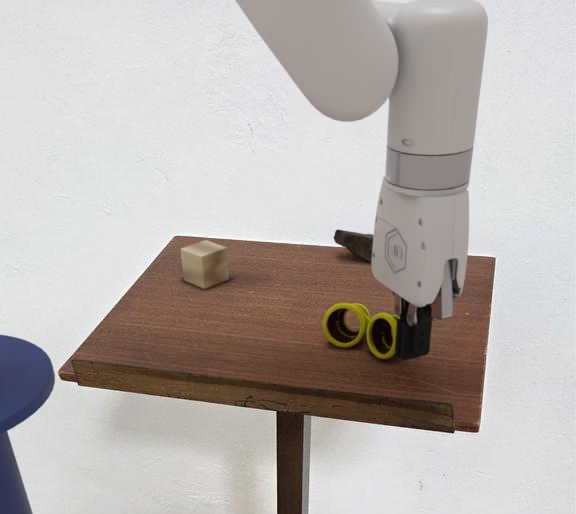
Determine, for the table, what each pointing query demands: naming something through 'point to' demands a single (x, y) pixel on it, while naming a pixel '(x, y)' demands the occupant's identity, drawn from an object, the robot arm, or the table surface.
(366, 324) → the opera glasses
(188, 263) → the pale wood block
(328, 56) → the robot arm
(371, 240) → the rock
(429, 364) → the table surface
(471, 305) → the table surface
